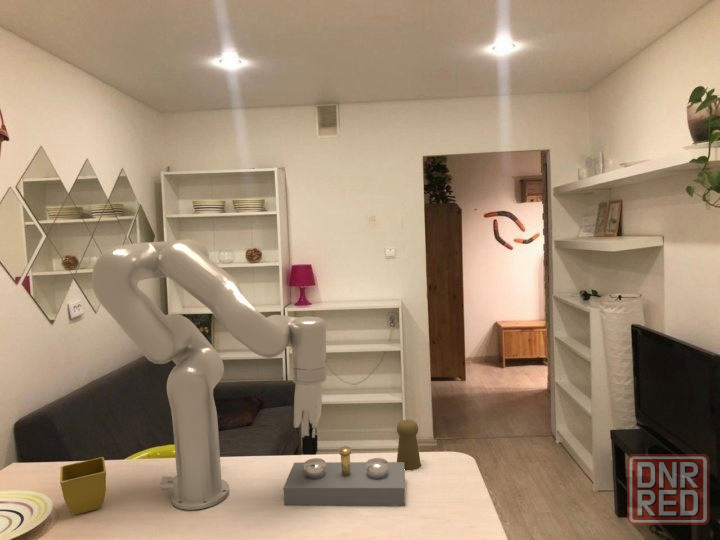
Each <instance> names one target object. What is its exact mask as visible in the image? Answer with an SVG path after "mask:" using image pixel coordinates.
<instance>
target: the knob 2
mask: <svg viewBox="0 0 720 540" xmlns="http://www.w3.org/2000/svg"><path fill="white" fill-rule="evenodd" d="M388 462H389V461H387V459H384V458H382V457H373V458H371V459H368V460H367V461H366V471H367V476H368V477H370V478H373V479H381V478H384V477H386V476H387V475H388Z"/></svg>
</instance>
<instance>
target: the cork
mask: <svg viewBox="0 0 720 540" xmlns="http://www.w3.org/2000/svg"><path fill="white" fill-rule="evenodd" d="M418 432H419V427H418V423H417V422H416V421H414V420H411V419H404V420H401V421H399V422H398V424H397V425H396V433H397V434H398V446H397V456H396V462H404V469H405V471H407V470H411V471H414V470H413V469H416V470H418V469H420V468H421V467H422V463H421V459H420V458H421V457H420V456H421V455H420V452H419V445H418V444H419V443H418V440H417V435H418ZM419 467H420V468H419ZM417 468H418V469H417Z"/></svg>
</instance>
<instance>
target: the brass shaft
mask: <svg viewBox="0 0 720 540" xmlns="http://www.w3.org/2000/svg"><path fill="white" fill-rule="evenodd" d="M338 450H339V451H338V452H339V455H340V462H341V469H342V476H344V477H348V476H350V475H351V471H350V462H351V454H352V448H351V446H345V445H344V446H341V447H340V448H339V449H338Z"/></svg>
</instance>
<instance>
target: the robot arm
mask: <svg viewBox="0 0 720 540" xmlns="http://www.w3.org/2000/svg"><path fill="white" fill-rule="evenodd" d="M157 278H158V279H161V278H168V279H170V280H171V281H172V282H173V283H175V284H176V285H178V287H180V288H182V289H183V290H184V291H186V293H189V295H190V296H192V297H193V298H195V299H196V300H197V301H198V302H200V303H201V304H202V305H203V306H205V307H206V308H207V309H209V310H210V312H211V313H212V314H213V317H215V319H216V320H217V321H218V322H219V323H220V325H222V327H223V328H224V329H225V330H226V331H227V332H228V333H229V334H230V335H231V336H232V337H233V338H234V339H236V341H238V342H239V343H241V344H242V345H243V346H245V347H246V348H247V349H248V350H250V351H251V352H253V353H254V354H256V355H258V356H259V357H262V358H266V359H271V358H276V357H278V356H280V355H281V354H282V353H284V351H285V350H286V348H287V347H290V348H291V381H292V382H293V383H294V384H295V386H294V387H295V389H294V398H293V399H294V403H293V427H294V428H295V429H298V428H299V427H300V425H301V435H302V437H301V441H302V442H301V453H302V455H309V456H310V455H312V456H313V455H317V453H318V451H319V449H318V434H317V433H318V423H319V421H320V418H321V417H322V404H323V403H322V401H323V400H322V399H323V395H322V394H323V391H322V389H323V388H322V385H323V383H324V382H326V380H327V326H326V325H327V324H326V321H325V320H324V319H323V318H321V317H318V316H310V315H309V316H300V317H296V316H289V315H282V314H272V315H269V316H267V317H266V316H265V315H263V314H262V313H261V312H260V311H259V310H258V309H256V308H255V307H254V306H253V305H252V304H251V303H250V302H249V301H248V299H246V297H245V296H244V294H243V292H242V289H241V287H240V284H239V283H238V281H237V279H236V278H235V277H234V276H232V275H231V274H229V272H227V271H225V269H223V268H222V267H220V265H218V264H217V263H215V262H214V261H213V260H212V259H210V258H209V252H208V250H207V248H206V246H204V245H203V244H202V242H199V241H198V240H196V239H190V238H187V239H185V238H184V239H178V240H177V239H176V240H168V241H167V240H166V241H151V242H150V241H149V242H148V241H147V242H136V243H135V242H134V243H130V244H129V243H128V244H120V245H116V246H112V247H110V248H109V249H106V250H105V251H104V252H103V253H102V254H100V255H99V257H98V258H97V260H96V262H95V263H94V266H93V269H92V274H91V285H92V289H93V293H94V294H95V295H94V296H95V297H96V298H97V300H98V302H99V304H101V306H102V307H103V308H104V310H105V311H106V312H108V314H109V315H110V316H111V317H112V319H114V321H115V322H116V323H117V325H119V326H120V328H121V329H122V330H123V332H124V333H125V334H126V335H127V337H128V338H129V339H130V340H131V341H132V343H133V344H134V346H135V347H137V349H138V350H139V351H140V352H141V353H142V354H143V356H144V357H145V358H146V359H147V360H148V361H149V362H151V363H153V364H156V365H157V364H158V365H163V364H167V363H169V362H171V361H173V363H174V364H175V366H174V367H173V368H172V369H171V371H170V373H169V374H168V377H167V382H166V393H167V395H166V396H167V399H168V402H169V406H170V413H171V421H172V430H173V444H174V455H175V456H174V457H175V469H176V475H175V476H170V475H167V476H166V475H165V476H162V477H161V480H160V485H161V490H163V491H164V490H165V491H166V490H171V491H172V493H171V496H170V497H171V498H170V500H171V503H172V505H173V506H175V507H176V508H178V509H181V510H185V511H189V510H190V511H191V510H192V511H194V510H202V509H206V508H210V507H213V506H215V505H218V504H219V503H221V502H222V501H224V500H225V499H226V498H227V497H228V495H229V494H230V485H229V483H228V481H226V480H224V479H222V468H221V467H222V465H221V453H220V452H221V451H220V440H219V439H220V437H219V435H220V434H219V425H218V423H219V422H218V413H217V407H216V402H215V398H214V389H215V388H216V386H217V385H218V383H219V382H220V381H221V379H222V378H223V376H224V372H225V366H224V362H223V360H222V357H221V355H220V354H219V353H218V351H217V350H216V349H215V348H214V347H213V345H212V344H211V343H210V341H209V340H208V339H207V338H206V337H205V335H204V334H203V333H202V332H201V331H200V330H199V328H198V327H197V326H196V324H194V323H193V322H192V321H191V320H190V319H189V318H187V317H186V316H184V315H182V314H178V313H169V314H165V313H163V311H162V310H161V309H160V307H158V306H157V304H156V303H155V301H154V300H153V299H152V298H151V297H150V296H149V295H148V294H146V293H145V292H143V290H141V289H140V288H139V286H138V285H137V282H140V281H145V280H148V279H157Z"/></svg>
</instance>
